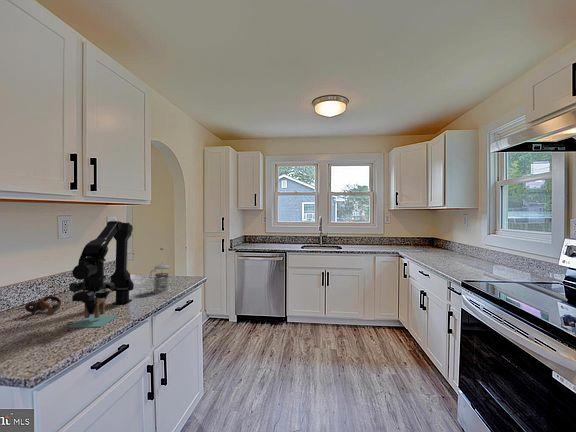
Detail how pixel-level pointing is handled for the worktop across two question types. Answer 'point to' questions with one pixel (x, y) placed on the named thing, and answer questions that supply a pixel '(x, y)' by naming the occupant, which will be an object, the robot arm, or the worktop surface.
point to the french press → (160, 279)
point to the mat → (94, 321)
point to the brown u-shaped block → (97, 308)
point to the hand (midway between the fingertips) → (95, 312)
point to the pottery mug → (43, 305)
